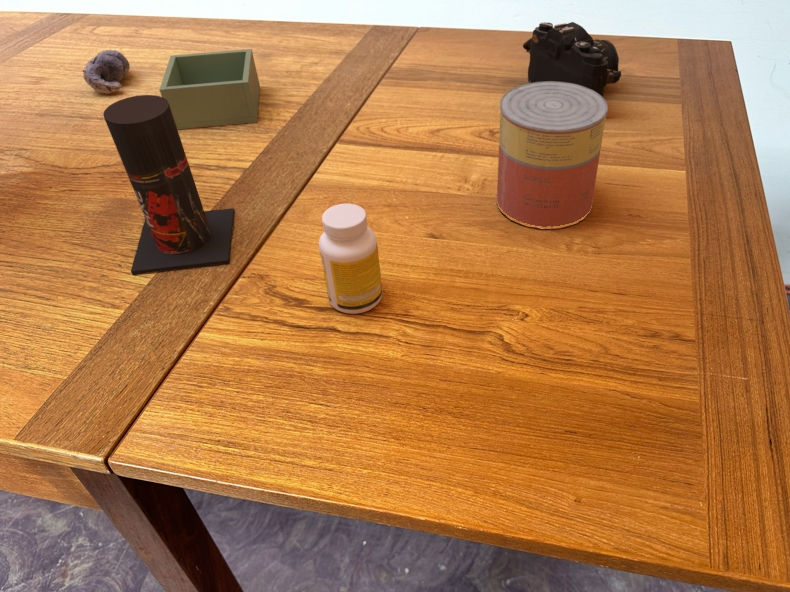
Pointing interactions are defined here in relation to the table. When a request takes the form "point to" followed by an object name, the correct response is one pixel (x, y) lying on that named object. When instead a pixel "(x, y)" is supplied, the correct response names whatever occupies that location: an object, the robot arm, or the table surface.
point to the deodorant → (159, 172)
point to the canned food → (549, 151)
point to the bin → (212, 88)
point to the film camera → (571, 57)
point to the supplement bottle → (350, 259)
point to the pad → (207, 255)
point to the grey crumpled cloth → (106, 71)
